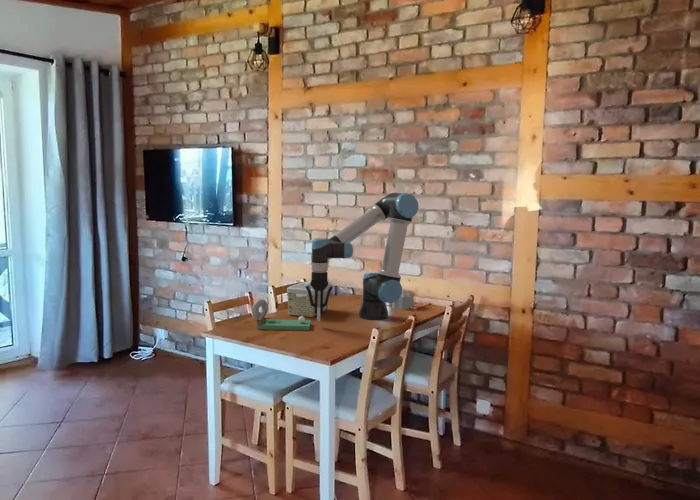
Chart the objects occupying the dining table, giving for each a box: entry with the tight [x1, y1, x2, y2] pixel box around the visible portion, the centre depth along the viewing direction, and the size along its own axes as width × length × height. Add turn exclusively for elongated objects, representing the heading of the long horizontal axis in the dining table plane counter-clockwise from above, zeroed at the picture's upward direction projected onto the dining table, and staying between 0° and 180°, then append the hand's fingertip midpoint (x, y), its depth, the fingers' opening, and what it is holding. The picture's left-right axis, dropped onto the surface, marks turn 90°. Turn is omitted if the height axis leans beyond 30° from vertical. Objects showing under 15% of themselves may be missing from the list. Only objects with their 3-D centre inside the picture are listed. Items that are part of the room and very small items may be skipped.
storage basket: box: [286, 281, 331, 318], centre depth 303 cm, size 24×16×15 cm
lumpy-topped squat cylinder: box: [391, 290, 414, 310], centre depth 323 cm, size 10×13×9 cm
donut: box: [251, 298, 269, 320], centre depth 286 cm, size 10×4×10 cm, turn 144°
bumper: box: [256, 314, 266, 326], centre depth 271 cm, size 2×12×2 cm, turn 0°
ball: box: [297, 316, 306, 323], centre depth 271 cm, size 3×3×3 cm
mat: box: [256, 318, 312, 331], centre depth 272 cm, size 24×12×2 cm, turn 90°
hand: (318, 320), depth 271 cm, fingers closed
